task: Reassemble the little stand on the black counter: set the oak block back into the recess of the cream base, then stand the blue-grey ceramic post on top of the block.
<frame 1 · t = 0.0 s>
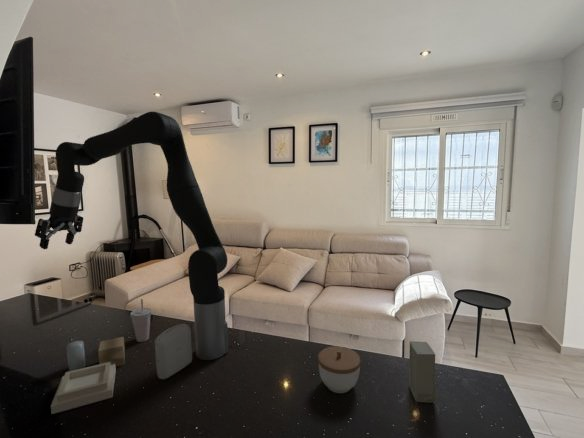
hand: (56, 245, 103), 31 cm above the kitchen counter, tool tilted 20°, fingers open, 8 cm apart
grey post: (77, 367, 86), on the kitchen counter
lidded jar: (338, 386, 78), on the kitchen counter
smoothie: (142, 339, 102), on the kitchen counter
skincare box: (420, 394, 74), on the kitchen counter
oak block: (113, 362, 89), on the kitchen counter
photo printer: (175, 369, 85), on the kitchen counter
cream base: (87, 390, 77), on the kitchen counter
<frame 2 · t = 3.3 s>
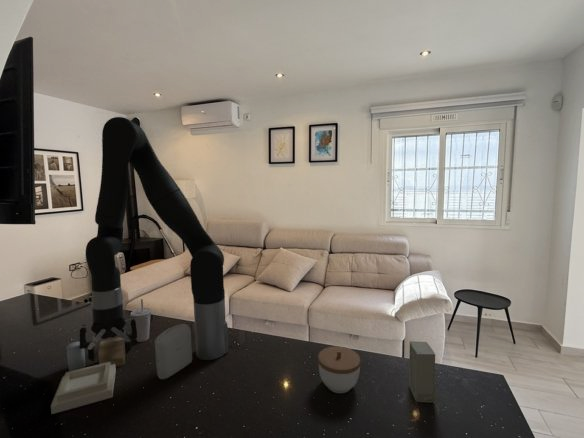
hand: (110, 356, 88), 2 cm above the kitchen counter, tool pointing down, fingers open, 8 cm apart
grey post: (77, 367, 86), on the kitchen counter, touching gripper, hand
everything else where it was.
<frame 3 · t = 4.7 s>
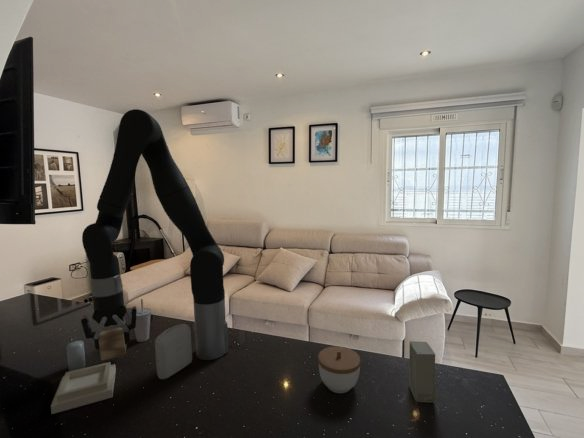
hand: (113, 346, 88), 5 cm above the kitchen counter, tool pointing down, fingers closed on oak block, 6 cm apart
grey post: (77, 367, 86), on the kitchen counter
oak block: (114, 352, 88), point 3 cm above the kitchen counter, touching gripper
everything else where it was.
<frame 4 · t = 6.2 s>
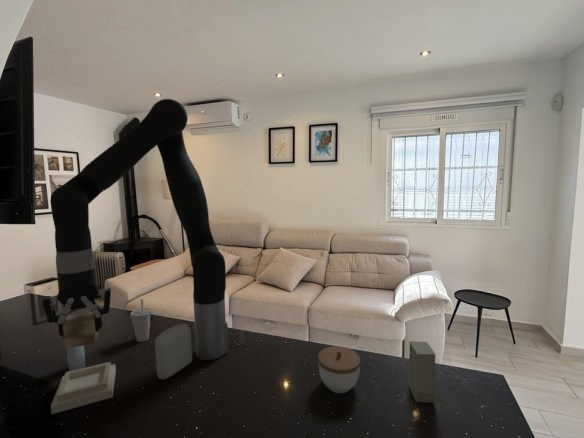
hand: (82, 333, 75), 15 cm above the kitchen counter, tool pointing down, fingers closed on oak block, 6 cm apart
oak block: (82, 340, 75), point 13 cm above the kitchen counter, touching gripper
everything else where it was.
when the fingers open (4 cm above the kitchen counter, at t = 8.7 s): oak block stays where it is, resting on cream base.
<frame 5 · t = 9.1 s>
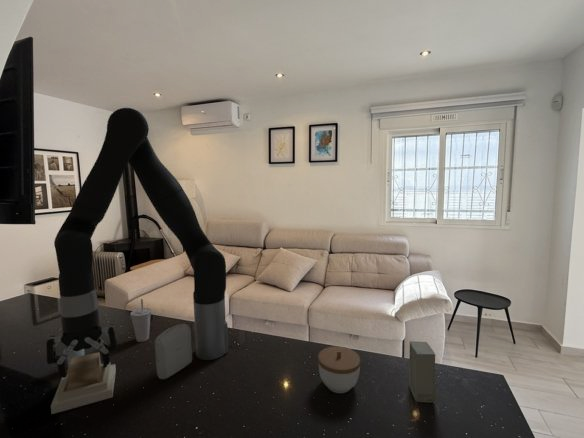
hand: (85, 370, 76), 5 cm above the kitchen counter, tool pointing down, fingers open, 8 cm apart
oak block: (86, 383, 76), point 2 cm above the kitchen counter, touching cream base
everything else where it was.
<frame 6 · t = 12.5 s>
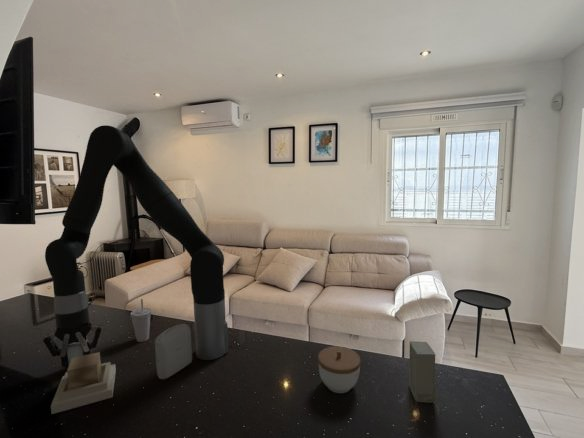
hand: (77, 364, 86), 1 cm above the kitchen counter, tool pointing down, fingers closed on grey post, 4 cm apart
grey post: (77, 367, 86), on the kitchen counter, touching gripper
everything else where it was.
when the fingers open (10 cm above the kitchen counter, at t = 16.4 s): grey post drops 1 cm, resting on oak block.
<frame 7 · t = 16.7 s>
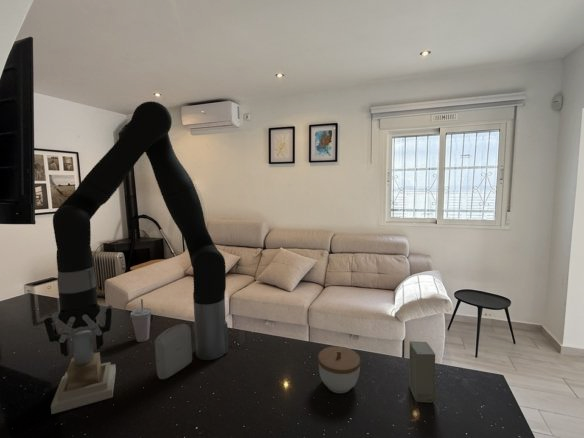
hand: (83, 351, 75), 11 cm above the kitchen counter, tool pointing down, fingers open, 6 cm apart
grey post: (84, 360, 76), point 8 cm above the kitchen counter, touching oak block
oak block: (86, 383, 76), point 2 cm above the kitchen counter, touching cream base, grey post
everything else where it was.
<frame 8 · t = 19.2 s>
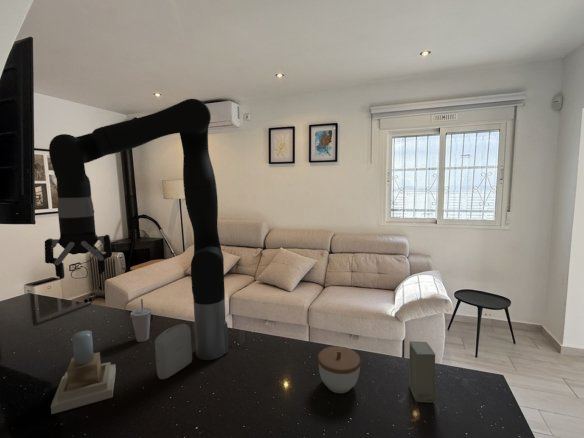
hand: (82, 275, 80), 28 cm above the kitchen counter, tool pointing down, fingers open, 8 cm apart
nothing on the kitchen counter moved.
at the end: oak block 0.1 cm off-centre on the cream base, point 2.0 cm above the cream base's base; grey post 0.1 cm off-centre on the oak block, point 6.0 cm above the oak block's base; grey post tilted 0° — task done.
